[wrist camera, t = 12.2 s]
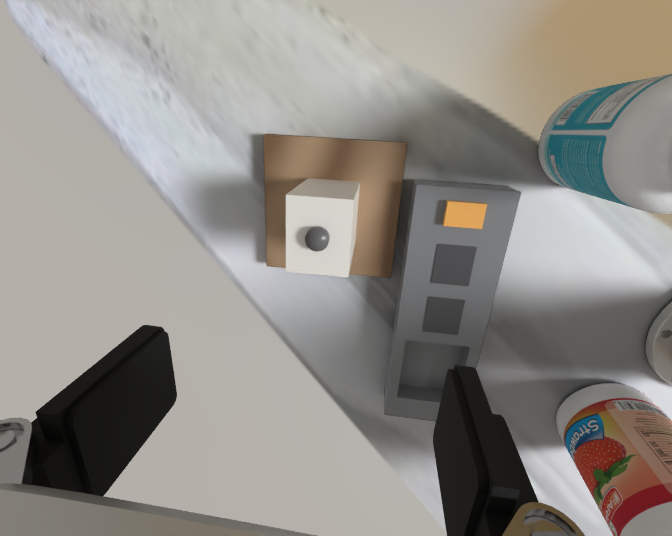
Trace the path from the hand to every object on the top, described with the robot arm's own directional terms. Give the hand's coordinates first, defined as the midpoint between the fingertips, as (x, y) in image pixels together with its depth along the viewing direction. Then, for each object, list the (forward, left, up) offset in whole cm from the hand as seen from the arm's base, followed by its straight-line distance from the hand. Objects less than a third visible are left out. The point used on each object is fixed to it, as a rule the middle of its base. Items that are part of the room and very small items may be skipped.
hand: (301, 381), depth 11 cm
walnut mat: (+2, -1, -23) cm, 23 cm away
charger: (+2, -1, -22) cm, 22 cm away
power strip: (-9, +8, -23) cm, 26 cm away
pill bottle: (-18, -8, -23) cm, 30 cm away
